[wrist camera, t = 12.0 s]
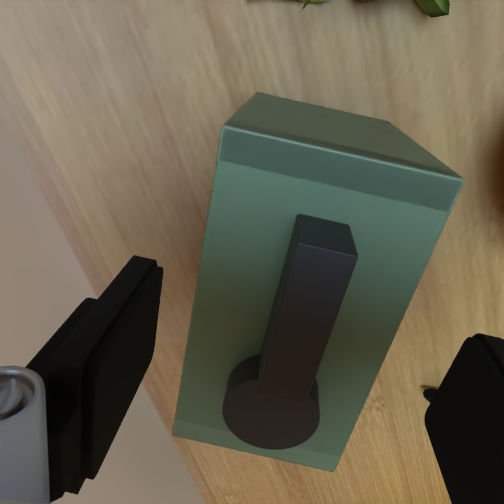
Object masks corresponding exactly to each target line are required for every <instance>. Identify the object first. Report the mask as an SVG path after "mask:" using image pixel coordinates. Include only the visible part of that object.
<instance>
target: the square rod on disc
mask: <svg viewBox="0 0 504 504" xmlns="http://www.w3.org/2000/svg"><path fill="white" fill-rule="evenodd" d="M357 259H358V253H357V249H356V246H355V243H354V239H353V236H352V232H351V229H350V226H349V225H347V224H343V223H339V222H334V221H330V220H325V219H321V218H316V217H312V216H307V215H303V214H298V215H297V218H296V221H295V225H294V229H293V233H292V236H291V240H290V244H289V248H288V251H287V255H286V259H285V263H284V266H283V270H282V274H281V278H280V281H279V285H278V289H277V292H276V296H275V300H274V304H273V307H272V311H271V315H270V319H269V322H268V326H267V330H266V334H265V337H264V341H263V345H262V349H261V355H256V356H252V357H250V358H247V359H245V360H244V361H242V362H241V363H239V364H238V365H237V366H236V367H235V368H234V369H233V371H232V372H231V374H230V376H229V379H228V382H227V387H226V392H225V396H224V401H223V406H222V414H223V419H224V421H225V424H226V425H227V427H228V429H229V430H230V431H231V432H232V433H233V434H234V435H235V436H236V437H237V438H239V439H240V440H242V441H243V442H245V443H247V444H249V445H252V446H254V447H258V448H262V449H269V450H282V449H288V448H292V447H296V446H298V445H300V444H302V443H304V442H306V441H307V440H308V439H310V438H311V437H312V435H313V434H314V433H315V432H316V430H317V428H318V426H319V422H320V406H319V390H318V384H317V381H316V379H315V377H316V374H317V371H318V369H319V366H320V363H321V360H322V357H323V355H324V352H325V349H326V346H327V343H328V341H329V338H330V335H331V332H332V329H333V327H334V324H335V321H336V318H337V315H338V313H339V310H340V307H341V304H342V301H343V299H344V296H345V293H346V290H347V287H348V285H349V282H350V279H351V276H352V273H353V271H354V268H355V265H356V262H357Z"/></svg>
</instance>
